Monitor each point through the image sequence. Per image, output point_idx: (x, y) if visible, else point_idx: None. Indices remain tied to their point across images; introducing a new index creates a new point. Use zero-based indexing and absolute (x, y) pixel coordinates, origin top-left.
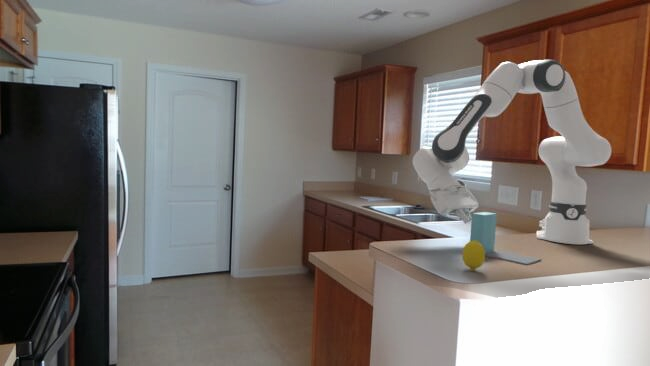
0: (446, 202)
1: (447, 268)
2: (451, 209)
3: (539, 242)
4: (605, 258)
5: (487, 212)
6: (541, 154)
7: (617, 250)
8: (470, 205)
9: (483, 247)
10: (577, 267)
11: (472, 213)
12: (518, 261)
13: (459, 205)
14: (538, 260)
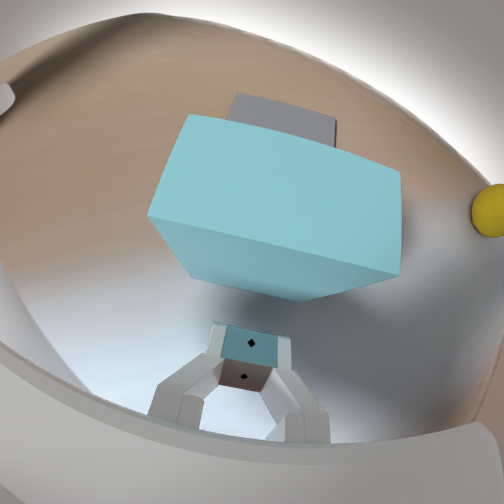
0: (483, 470)
1: (492, 268)
2: (444, 431)
3: None
4: (103, 42)
5: (171, 185)
6: None
7: (22, 64)
8: (77, 400)
9: (502, 184)
10: (246, 49)
11: (399, 272)
12: (329, 134)
13: (341, 465)
14: (256, 97)
